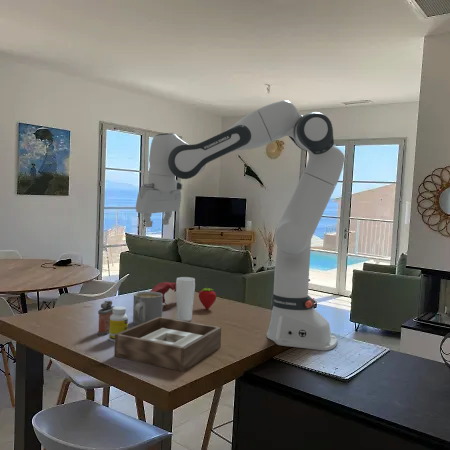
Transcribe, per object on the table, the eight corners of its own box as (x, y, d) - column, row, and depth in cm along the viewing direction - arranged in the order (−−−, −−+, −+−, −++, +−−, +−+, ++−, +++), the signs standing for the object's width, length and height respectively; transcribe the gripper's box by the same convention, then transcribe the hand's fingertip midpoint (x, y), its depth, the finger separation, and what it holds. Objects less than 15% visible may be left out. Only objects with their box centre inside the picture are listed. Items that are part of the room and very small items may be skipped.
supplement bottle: (126, 342, 137) (127, 310, 136) (108, 342, 136) (109, 310, 135) (127, 336, 142) (128, 305, 141) (110, 336, 141) (110, 305, 141)
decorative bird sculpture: (134, 326, 168) (158, 300, 163) (120, 307, 170) (143, 281, 165) (175, 310, 193) (196, 287, 188) (162, 293, 196) (183, 270, 191)
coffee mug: (145, 317, 165) (146, 290, 164) (167, 322, 160) (168, 294, 159) (119, 325, 153) (120, 296, 153) (142, 331, 148) (143, 300, 148)
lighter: (107, 327, 150) (107, 298, 150) (116, 328, 150) (117, 299, 149) (95, 334, 142) (95, 303, 142) (105, 336, 142) (105, 304, 141)
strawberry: (211, 312, 176) (212, 286, 175) (194, 309, 179) (195, 284, 179) (218, 309, 181) (219, 284, 180) (203, 306, 184) (203, 282, 184)
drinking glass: (192, 322, 160) (194, 280, 159) (173, 321, 160) (175, 279, 159) (194, 317, 167) (195, 277, 166) (176, 316, 167) (177, 276, 166)
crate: (220, 347, 136) (221, 327, 135) (183, 371, 116) (184, 348, 115) (158, 335, 145) (159, 316, 144) (114, 355, 125) (114, 334, 124)
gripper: (149, 185, 136) (145, 230, 138) (185, 184, 154) (181, 224, 156) (132, 182, 139) (129, 226, 141) (170, 182, 157) (166, 221, 159)
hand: (157, 225), depth 149 cm, fingers open, 8 cm apart
